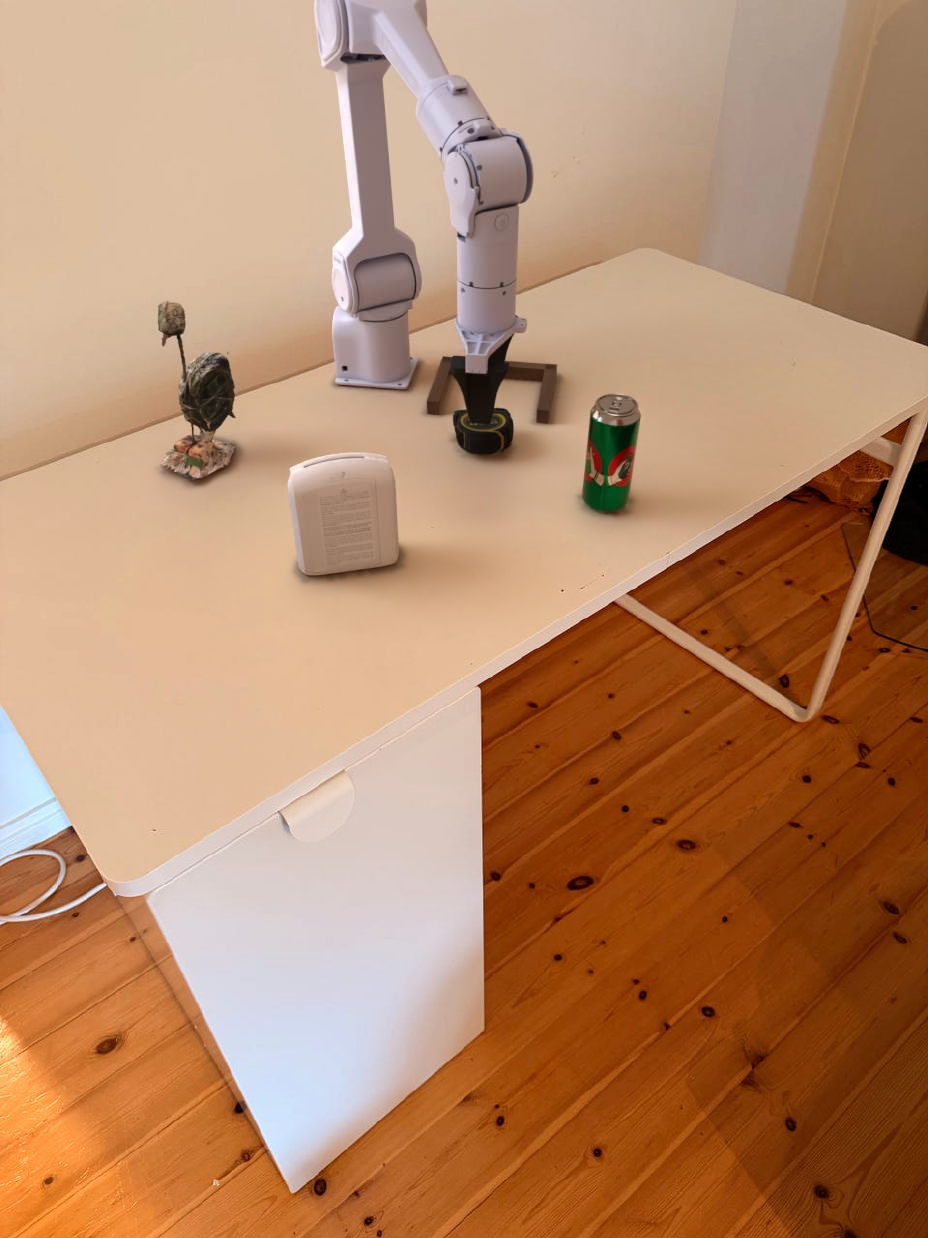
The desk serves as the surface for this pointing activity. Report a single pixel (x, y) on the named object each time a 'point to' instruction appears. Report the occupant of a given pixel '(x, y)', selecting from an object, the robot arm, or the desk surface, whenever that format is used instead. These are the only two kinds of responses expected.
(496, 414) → the tape measure
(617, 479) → the soda can
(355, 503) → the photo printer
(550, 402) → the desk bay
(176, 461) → the plant with pod
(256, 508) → the desk surface
